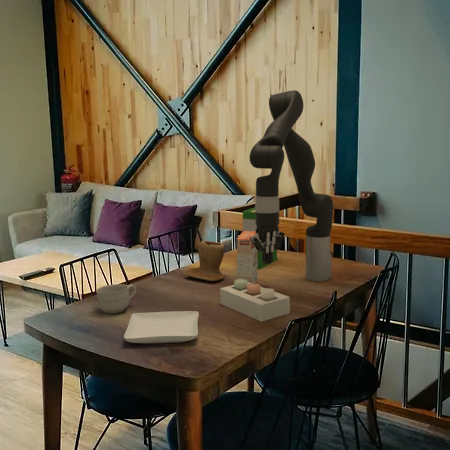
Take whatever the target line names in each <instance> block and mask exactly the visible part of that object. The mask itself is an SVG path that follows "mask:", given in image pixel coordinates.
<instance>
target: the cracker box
mask: <svg viewBox="0 0 450 450" xmlns="http://www.w3.org/2000/svg"><path fill="white" fill-rule="evenodd" d="M255 234H256V231H243V230H242V232H241V233H240V235H239V236H237V238H236V279H246V280H247V282H249V283H256V284H258V270H257V266H258V251H257V249H256V248H255V246H254V245H253V243H252V242H251V240H250V237H251V236H252V237H253V236H254V235H255Z"/></svg>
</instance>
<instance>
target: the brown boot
mask: <svg viewBox="0 0 450 450" xmlns="http://www.w3.org/2000/svg"><path fill="white" fill-rule="evenodd" d="M197 251H198V259H199V260H198V261H199V266H198V267H190V268H188V269H186V270H185V271H184V272H183V275H185V276H187V277H191V278H195V279H198V280H204V281H208V282H217V281H221V280H223V279H224V278H225V274H223V273H222V272H221V270H220V268H221V265H222V262H223V259H224V255H225V252H226V251H225V245H224V243H221V242H217V241H211V240H202V241H200V243H199V245H198V250H197Z"/></svg>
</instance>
